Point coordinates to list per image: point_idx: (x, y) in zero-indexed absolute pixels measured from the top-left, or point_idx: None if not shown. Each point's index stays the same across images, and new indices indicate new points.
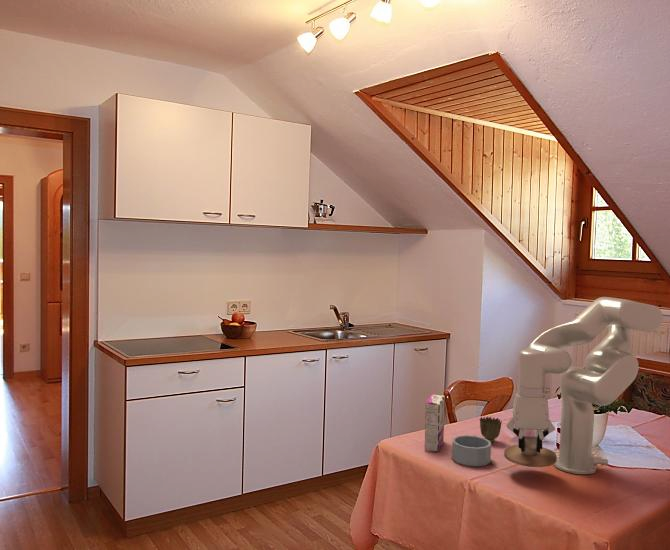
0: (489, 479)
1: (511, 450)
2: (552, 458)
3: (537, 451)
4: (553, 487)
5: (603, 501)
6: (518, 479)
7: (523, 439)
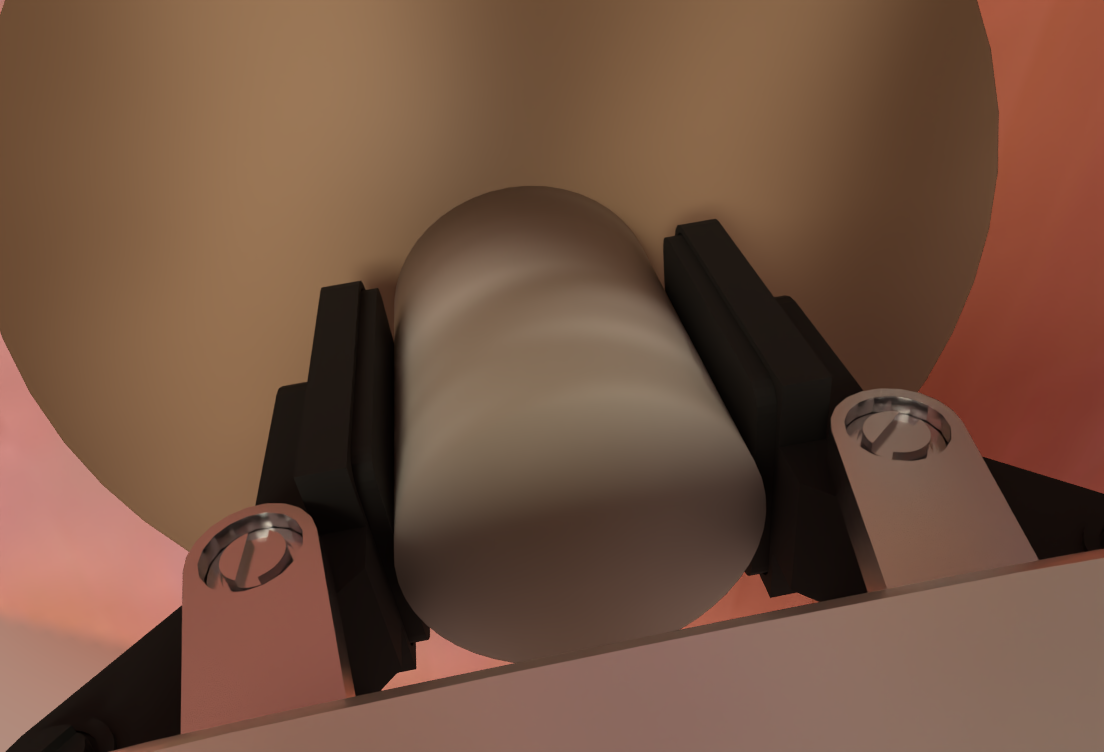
0: (38, 447)
1: (134, 261)
2: (878, 381)
3: None
4: None
5: (1089, 440)
6: None
7: (413, 665)
